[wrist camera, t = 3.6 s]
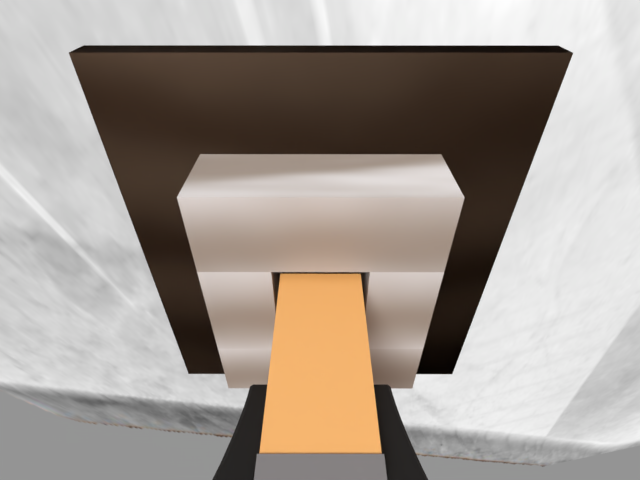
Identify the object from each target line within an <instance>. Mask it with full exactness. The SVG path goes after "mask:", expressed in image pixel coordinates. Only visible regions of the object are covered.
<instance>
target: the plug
mask: <svg viewBox="0 0 640 480" xmlns="http://www.w3.org/2000/svg"><path fill="white" fill-rule="evenodd" d="M254 480H387V474H386V465H385V457H384V454H382V452H381V443H380V435H379V426H378V418H377V409H376V400H375V392H374V383H373V375H372V366H371V358H370V349H369V341H368V332H367V323H366V315H365V306H364V298H363V289H362V281H361V274H280V282H279V290H278V299H277V307H276V316H275V324H274V333H273V341H272V350H271V359H270V367H269V376H268V384H267V393H266V401H265V410H264V418H263V427H262V435H261V444H260V452H259V454H257V458H256V466H255V474H254Z"/></svg>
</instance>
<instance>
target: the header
mask: <svg viewBox="0 0 640 480" xmlns="http://www.w3.org/2000/svg"><path fill="white" fill-rule="evenodd" d="M69 55H70V58H71V60H72V63H73V66H74V68H75V71H76V74H77V76H78V79H79V82H80V85H81V87H82V90H83V93H84V95H85V98H86V101H87V103H88V106H89V109H90V111H91V114H92V117H93V119H94V122H95V125H96V127H97V130H98V133H99V135H100V138H101V141H102V143H103V146H104V149H105V151H106V154H107V157H108V159H109V162H110V165H111V168H112V170H113V173H114V176H115V178H116V181H117V184H118V186H119V189H120V192H121V194H122V197H123V200H124V202H125V205H126V208H127V210H128V213H129V216H130V218H131V221H132V224H133V226H134V229H135V232H136V234H137V237H138V240H139V243H140V245H141V248H142V251H143V253H144V256H145V259H146V261H147V264H148V267H149V269H150V272H151V275H152V277H153V280H154V283H155V285H156V288H157V291H158V293H159V296H160V299H161V301H162V304H163V307H164V309H165V312H166V315H167V317H168V320H169V323H170V326H171V328H172V331H173V334H174V336H175V339H176V342H177V344H178V347H179V350H180V352H181V355H182V358H183V360H184V363H185V366H186V368H187V371H188V374H225V377H226V381H227V384H228V388H250V386H252V385H253V384H268V376H269V367H270V359H271V350H272V341H273V333H274V324H275V316H276V307H277V299H278V290H279V282H280V274H361V281H362V289H363V298H364V306H365V315H366V323H367V332H368V341H369V349H370V358H371V366H372V375H373V383H374V384H388V385H389V386H390V387H391V388H397V389H412V388H413V384H414V381H415V377H416V374H453V371H454V368H455V366H456V363H457V360H458V358H459V355H460V352H461V350H462V347H463V344H464V342H465V339H466V337H467V334H468V331H469V329H470V326H471V323H472V321H473V318H474V315H475V313H476V310H477V307H478V305H479V302H480V299H481V297H482V294H483V291H484V289H485V286H486V283H487V281H488V278H489V275H490V273H491V270H492V267H493V265H494V262H495V260H496V257H497V254H498V252H499V249H500V246H501V244H502V241H503V238H504V236H505V233H506V230H507V228H508V225H509V222H510V220H511V217H512V214H513V212H514V209H515V206H516V204H517V201H518V198H519V196H520V193H521V190H522V188H523V185H524V182H525V180H526V177H527V175H528V172H529V169H530V167H531V164H532V161H533V159H534V156H535V153H536V151H537V148H538V145H539V143H540V140H541V137H542V135H543V132H544V129H545V127H546V124H547V121H548V119H549V116H550V113H551V111H552V108H553V105H554V103H555V100H556V97H557V95H558V92H559V90H560V87H561V84H562V82H563V79H564V76H565V74H566V71H567V68H568V66H569V63H570V60H571V58H572V55H573V52H571V51H569V50H566V49H564V48H562V47H560V46H525V45H83V46H81V47H79V48H77V49H75V50H73V51H71V52H69Z"/></svg>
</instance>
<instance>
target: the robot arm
mask: <svg viewBox="0 0 640 480" xmlns="http://www.w3.org/2000/svg"><path fill="white" fill-rule="evenodd" d="M374 392H375V400H376V409H377V418H378V426H379V435H380V443H381V452H382V454H384V457H385V465H386V474H387V480H428V478H427V476H426V474H425V472H424V470H423V468H422V466H421V463H420V461H419V459H418V457H417V455H416V453H415V450H414V448H413V446H412V444H411V441H410V439H409V437H408V434H407V432H406V430H405V427H404V425H403V422H402V420H401V417H400V414H399V411H398V409H397V406H396V403H395V400H394V397H393V394H392V390H391V387H390V386H389V385H388V384H374ZM266 393H267V384H253V385H252V386H250V388H249V392H248V395H247V399H246V402H245V405H244V408H243V410H242V413H241V416H240V419H239V421H238V424H237V426H236V429H235V431H234V434H233V436H232V438H231V440H230V443H229V445H228V447H227V450H226V452H225V454H224V456H223V459H222V461H221V463H220V465H219V467H218V469H217V471H216V473H215V475H214V477H213V479H212V480H254V474H255V466H256V458H257V454H259V452H260V444H261V435H262V427H263V418H264V410H265V401H266Z"/></svg>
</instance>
